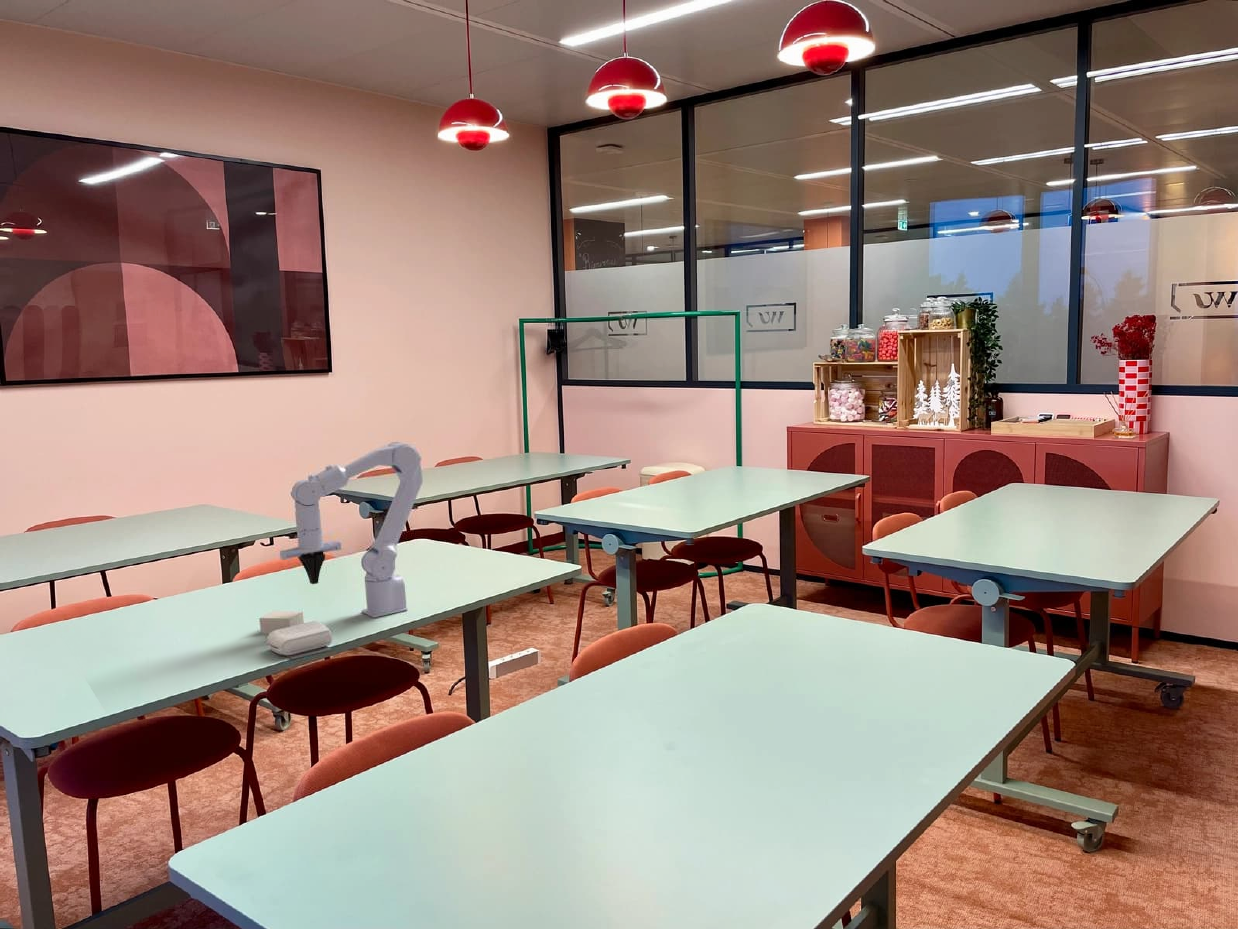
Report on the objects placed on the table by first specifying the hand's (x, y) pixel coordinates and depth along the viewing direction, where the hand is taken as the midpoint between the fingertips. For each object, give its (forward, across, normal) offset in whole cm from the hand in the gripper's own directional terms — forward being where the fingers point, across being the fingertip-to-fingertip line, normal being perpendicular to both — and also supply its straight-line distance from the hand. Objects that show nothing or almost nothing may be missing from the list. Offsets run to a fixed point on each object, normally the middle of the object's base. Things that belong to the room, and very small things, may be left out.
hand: (314, 583), depth 226 cm
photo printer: (+8, +4, +16) cm, 18 cm away
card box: (+11, +8, -2) cm, 14 cm away
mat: (+10, +10, +16) cm, 21 cm away
